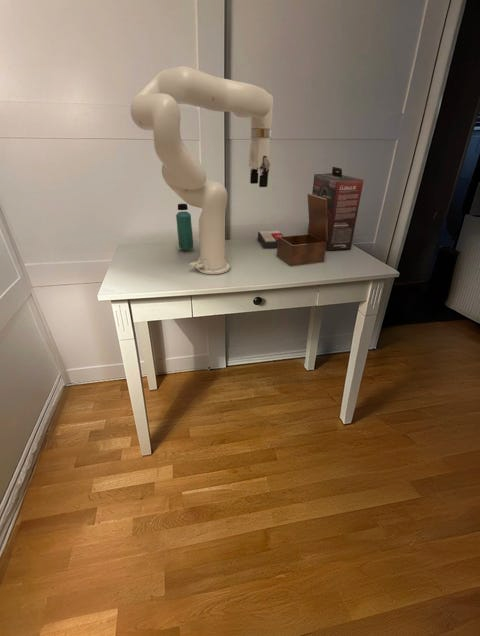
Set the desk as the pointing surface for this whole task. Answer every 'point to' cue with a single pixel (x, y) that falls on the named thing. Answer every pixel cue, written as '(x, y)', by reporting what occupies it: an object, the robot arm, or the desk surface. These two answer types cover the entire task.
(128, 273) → the desk surface
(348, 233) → the headset box
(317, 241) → the chest
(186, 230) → the beverage bottle
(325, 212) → the lid
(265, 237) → the calculator
